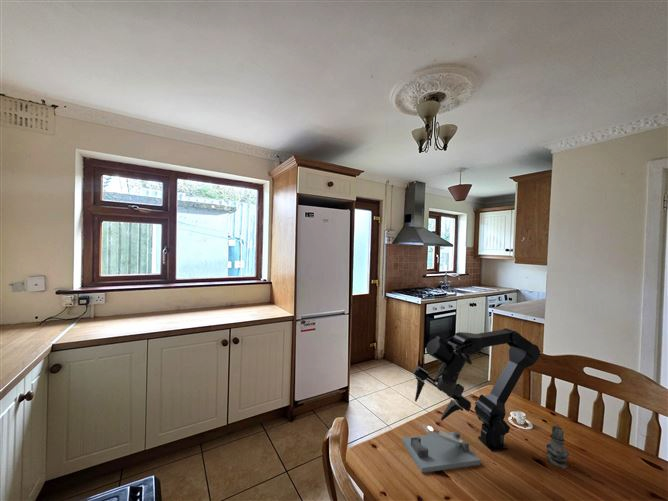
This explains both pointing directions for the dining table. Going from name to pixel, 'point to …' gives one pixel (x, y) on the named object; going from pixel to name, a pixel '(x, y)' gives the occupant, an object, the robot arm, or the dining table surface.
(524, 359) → the robot arm
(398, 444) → the dining table surface
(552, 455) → the grey tiered tower figurine
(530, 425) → the teacup and saucer
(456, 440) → the light grey long bar
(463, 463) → the base plate
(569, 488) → the dining table surface
